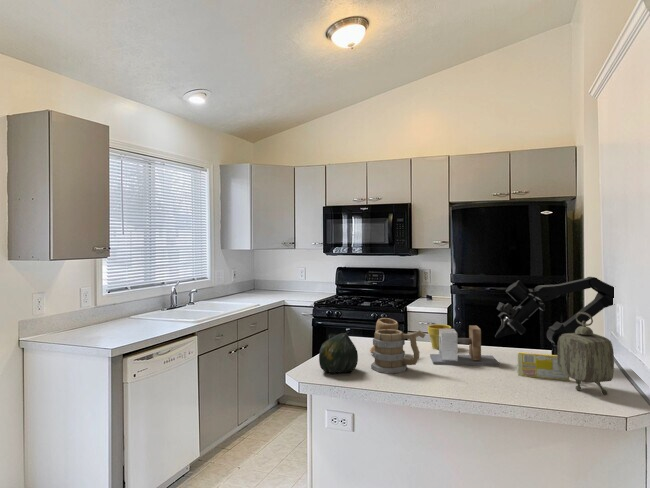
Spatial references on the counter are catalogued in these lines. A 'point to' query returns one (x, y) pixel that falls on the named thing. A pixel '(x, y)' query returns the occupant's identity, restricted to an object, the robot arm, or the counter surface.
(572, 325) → the robot arm
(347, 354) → the squash
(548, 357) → the candy box
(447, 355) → the bearing block
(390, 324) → the stone cup
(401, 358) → the tankard
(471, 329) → the wood block
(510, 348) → the counter surface
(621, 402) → the counter surface
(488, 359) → the mat
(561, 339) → the tabletop clock
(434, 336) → the plant pot
